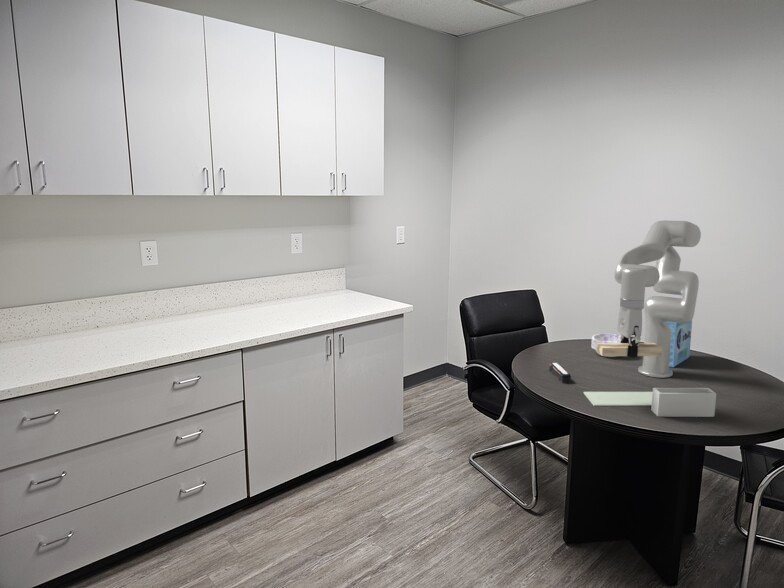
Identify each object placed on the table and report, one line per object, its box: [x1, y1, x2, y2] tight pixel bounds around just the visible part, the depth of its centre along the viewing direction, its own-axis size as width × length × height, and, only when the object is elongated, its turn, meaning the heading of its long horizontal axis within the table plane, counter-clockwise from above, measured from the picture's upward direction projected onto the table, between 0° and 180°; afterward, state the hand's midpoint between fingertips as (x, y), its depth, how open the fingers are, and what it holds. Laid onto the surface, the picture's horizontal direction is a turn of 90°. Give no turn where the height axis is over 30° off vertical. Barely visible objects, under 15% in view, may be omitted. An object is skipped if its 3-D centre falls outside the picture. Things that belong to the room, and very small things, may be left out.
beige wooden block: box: [596, 342, 662, 357], centre depth 185 cm, size 6×20×3 cm, turn 87°
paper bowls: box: [590, 333, 621, 358], centre depth 239 cm, size 15×15×8 cm
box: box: [650, 387, 717, 418], centre depth 175 cm, size 5×18×8 cm, turn 87°
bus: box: [548, 362, 572, 384], centre depth 215 cm, size 14×25×4 cm, turn 2°
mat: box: [583, 391, 653, 407], centre depth 188 cm, size 12×26×1 cm, turn 87°
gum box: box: [666, 320, 693, 368], centre depth 226 cm, size 20×5×23 cm, turn 133°
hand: (628, 353), depth 185 cm, fingers closed on beige wooden block, 6 cm apart
